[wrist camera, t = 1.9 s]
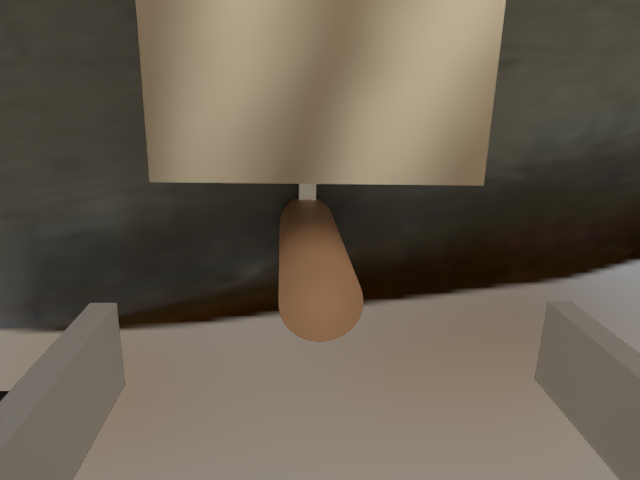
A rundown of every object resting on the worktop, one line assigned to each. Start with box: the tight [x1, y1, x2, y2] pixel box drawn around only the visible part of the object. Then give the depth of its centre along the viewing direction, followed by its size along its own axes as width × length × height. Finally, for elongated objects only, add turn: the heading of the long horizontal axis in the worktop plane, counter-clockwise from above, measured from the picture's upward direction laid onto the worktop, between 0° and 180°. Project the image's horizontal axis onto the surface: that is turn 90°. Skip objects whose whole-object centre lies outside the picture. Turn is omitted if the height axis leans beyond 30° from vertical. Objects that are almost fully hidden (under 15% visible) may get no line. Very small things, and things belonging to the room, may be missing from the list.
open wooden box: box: [136, 0, 506, 186], centre depth 21 cm, size 12×12×10 cm
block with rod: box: [279, 184, 363, 342], centre depth 21 cm, size 6×15×11 cm, turn 179°
